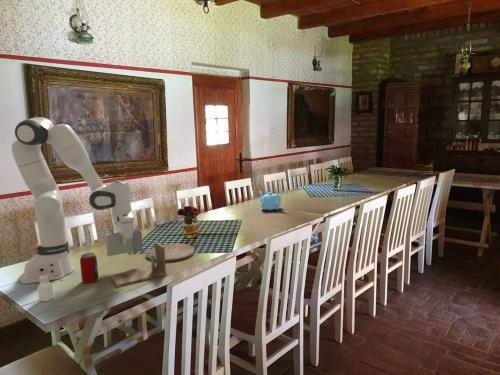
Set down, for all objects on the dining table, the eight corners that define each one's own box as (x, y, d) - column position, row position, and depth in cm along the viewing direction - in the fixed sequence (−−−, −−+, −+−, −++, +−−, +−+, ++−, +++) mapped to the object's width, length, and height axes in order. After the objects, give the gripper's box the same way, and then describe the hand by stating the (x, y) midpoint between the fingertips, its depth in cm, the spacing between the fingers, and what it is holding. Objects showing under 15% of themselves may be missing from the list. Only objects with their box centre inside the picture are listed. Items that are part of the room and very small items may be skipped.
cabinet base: (117, 287, 159) (114, 257, 157) (110, 277, 169) (107, 250, 167) (166, 275, 171) (165, 247, 168) (157, 266, 181) (156, 240, 178)
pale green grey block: (108, 256, 174) (107, 235, 172) (106, 254, 177) (105, 233, 175) (142, 250, 182) (141, 230, 181) (140, 248, 185) (139, 229, 184)
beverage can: (101, 280, 166) (99, 254, 164) (86, 285, 162) (83, 258, 159) (94, 276, 171) (91, 251, 169) (79, 281, 166) (76, 255, 164)
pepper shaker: (47, 302, 147) (44, 279, 145) (38, 301, 148) (35, 278, 146) (54, 297, 151) (51, 275, 149) (45, 296, 151) (42, 274, 150)
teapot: (259, 207, 302) (259, 190, 300) (283, 207, 300) (283, 190, 298) (257, 212, 287) (256, 194, 284) (283, 212, 284) (282, 194, 282)
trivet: (201, 248, 207) (201, 245, 207) (181, 265, 183) (181, 261, 183) (161, 245, 214) (160, 242, 214) (136, 261, 190) (136, 257, 190)
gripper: (109, 211, 183) (111, 239, 185) (120, 220, 166) (122, 250, 168) (122, 210, 187) (124, 237, 189) (135, 218, 170) (136, 248, 172)
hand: (123, 243), depth 178 cm, fingers closed on pale green grey block, 2 cm apart
